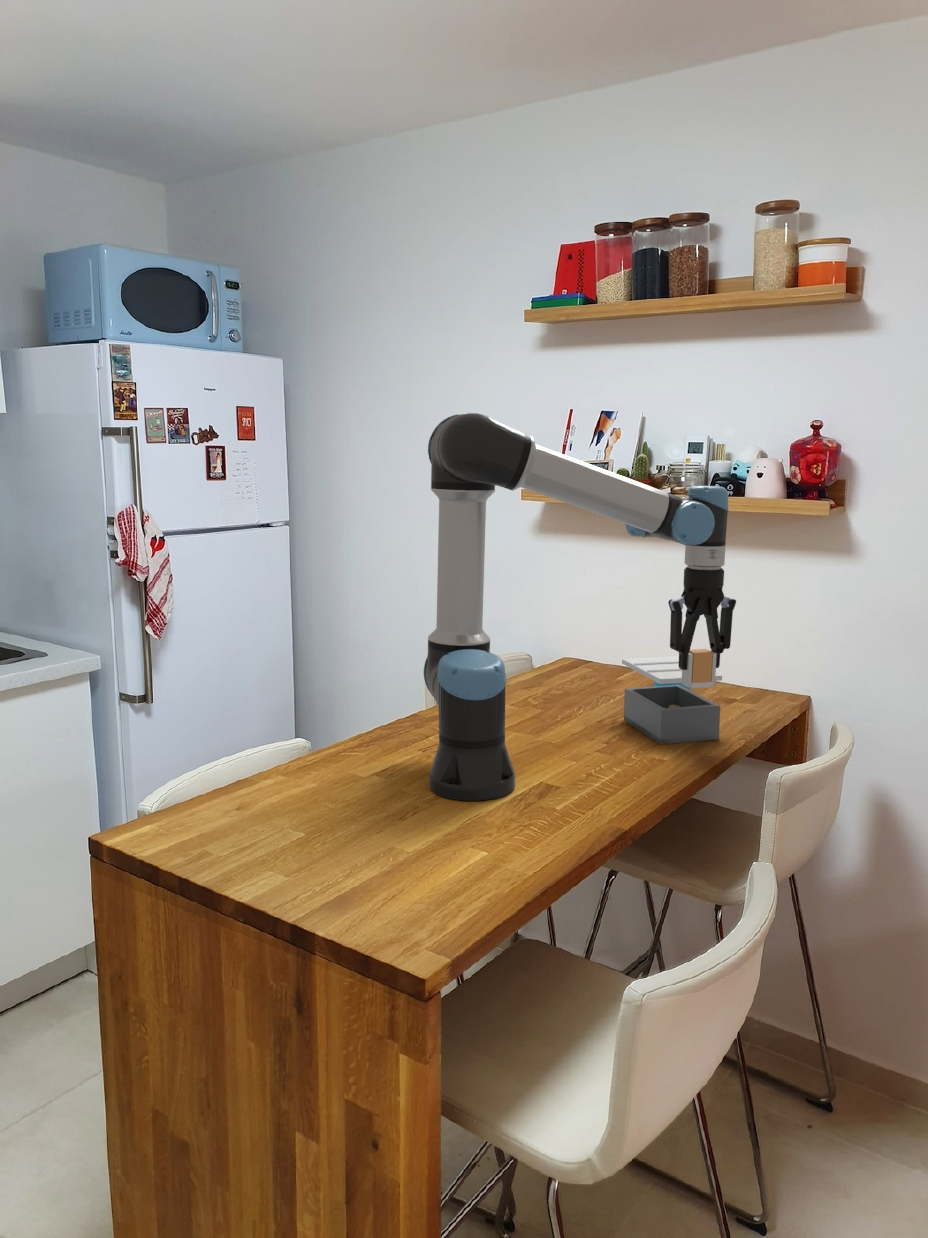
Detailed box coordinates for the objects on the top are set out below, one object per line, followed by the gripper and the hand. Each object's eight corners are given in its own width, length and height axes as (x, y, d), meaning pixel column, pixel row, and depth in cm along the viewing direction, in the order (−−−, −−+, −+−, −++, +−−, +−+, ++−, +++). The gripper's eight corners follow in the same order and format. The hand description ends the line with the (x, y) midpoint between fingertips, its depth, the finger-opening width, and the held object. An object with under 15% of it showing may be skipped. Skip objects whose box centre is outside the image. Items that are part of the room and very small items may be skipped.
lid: (670, 689, 185) (671, 654, 184) (621, 663, 207) (623, 631, 206) (733, 685, 188) (735, 651, 187) (679, 660, 210) (680, 629, 209)
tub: (660, 744, 192) (661, 710, 191) (623, 719, 209) (624, 688, 208) (718, 739, 195) (720, 705, 194) (678, 715, 212) (679, 684, 211)
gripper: (671, 570, 178) (665, 692, 182) (755, 568, 183) (747, 687, 187) (654, 565, 185) (648, 682, 190) (734, 563, 190) (728, 678, 194)
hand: (698, 684), depth 188 cm, fingers closed on lid, 4 cm apart
